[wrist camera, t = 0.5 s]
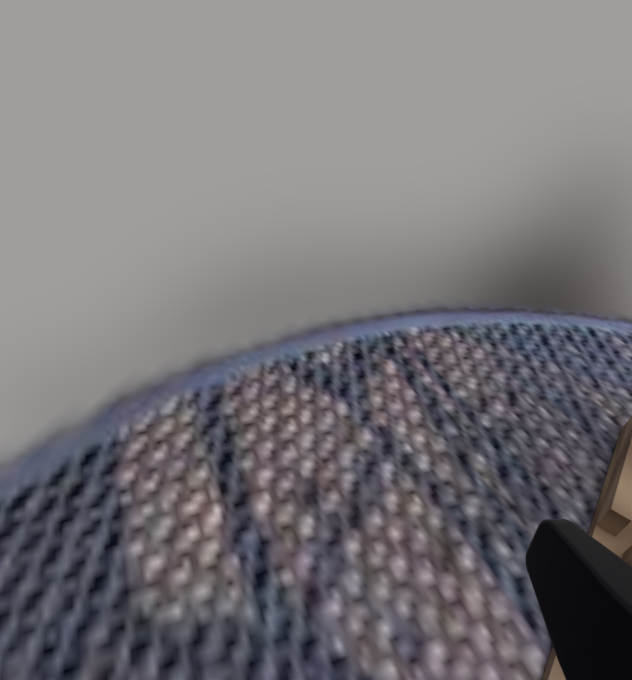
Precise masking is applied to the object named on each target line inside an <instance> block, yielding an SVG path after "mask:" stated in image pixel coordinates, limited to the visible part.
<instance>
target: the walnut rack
mask: <svg viewBox="0 0 632 680" xmlns="http://www.w3.org/2000/svg"><path fill="white" fill-rule="evenodd" d="M588 534H589V535H590V536H592V537H593V538H594V539H596V540H597V541H599V542H600V543H601V544H603V545H604V546H605V547H607V548H608V549H609V550H611V551H612V552H614V553H615V554H616V555H618V556H619V557H620V558H622V559H623V560H625V561H626V562H627V563H629V564H630V565H631V566H632V417H631V418H630V420H629V421H628V422H627V423H626V424H625V426H624V427H623V428H622V429H621V432H620V435H619V438H618V441H617V444H616V447H615V450H614V454H613V457H612V460H611V463H610V466H609V469H608V473H607V476H606V479H605V482H604V485H603V488H602V491H601V495H600V498H599V501H598V504H597V507H596V510H595V514H594V517H593V520H592V523H591V526H590V529H589V533H588ZM542 680H566V679H565V676H564V674H563V671H562V669H561V667H560V664H559V661H558V659H557V656H556V653H555V651H554V648H553V646H552V649H551V652H550V656H549V659H548V662H547V665H546V668H545V671H544V675H543V678H542Z"/></svg>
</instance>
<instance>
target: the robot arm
mask: <svg viewBox="0 0 632 680" xmlns="http://www.w3.org/2000/svg"><path fill="white" fill-rule="evenodd" d="M526 566H527V570H528V573H529V576H530V579H531V582H532V585H533V588H534V591H535V594H536V597H537V600H538V603H539V606H540V609H541V612H542V615H543V618H544V621H545V624H546V627H547V630H548V633H549V636H550V639H551V642H552V645H553V648H554V651H555V653H556V656H557V659H558V661H559V664H560V667H561V669H562V671H563V674H564V676H565V679H566V680H632V566H631V565H630V564H629V563H627V562H626V561H625V560H623V559H622V558H620V557H619V556H618V555H616V554H615V553H614V552H612V551H611V550H609V549H608V548H607V547H605V546H604V545H603V544H601V543H600V542H599V541H597V540H596V539H594V538H593V537H592V536H590V535H589V534H588V533H586V532H585V531H583V530H582V529H581V528H579V527H578V526H577V525H575V524H574V523H572V522H571V521H569V520H566V519H546V520H543V521H542V522H541V523H540V524H539V526H538V528H537V530H536V532H535V534H534V537H533V539H532V541H531V543H530V546H529V548H528V550H527V553H526Z"/></svg>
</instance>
